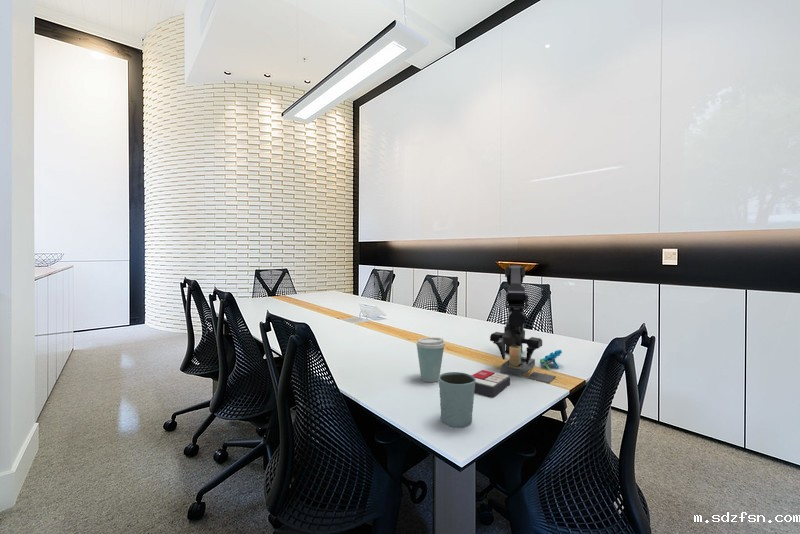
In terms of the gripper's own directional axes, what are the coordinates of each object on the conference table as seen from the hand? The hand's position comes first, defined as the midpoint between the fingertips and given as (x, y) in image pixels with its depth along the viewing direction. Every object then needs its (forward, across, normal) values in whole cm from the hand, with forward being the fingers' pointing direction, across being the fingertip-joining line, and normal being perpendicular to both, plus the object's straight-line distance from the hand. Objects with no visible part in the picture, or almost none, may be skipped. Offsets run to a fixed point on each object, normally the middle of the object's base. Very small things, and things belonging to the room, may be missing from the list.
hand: (515, 361), depth 138 cm
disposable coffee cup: (+4, -22, -26) cm, 35 cm away
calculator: (+5, -2, -21) cm, 22 cm away
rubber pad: (+4, +10, 0) cm, 11 cm away
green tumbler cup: (+4, +1, -48) cm, 49 cm away
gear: (+4, +9, +15) cm, 18 cm away
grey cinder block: (+4, 0, +4) cm, 5 cm away
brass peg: (+4, 0, 0) cm, 4 cm away
